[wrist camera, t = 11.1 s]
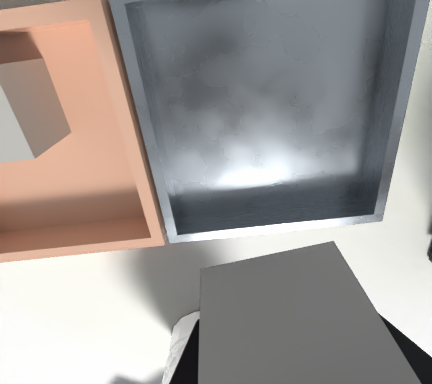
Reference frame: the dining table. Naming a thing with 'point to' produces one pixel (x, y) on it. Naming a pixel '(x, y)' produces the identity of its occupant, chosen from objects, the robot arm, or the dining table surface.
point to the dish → (78, 142)
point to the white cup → (179, 343)
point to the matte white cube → (29, 111)
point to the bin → (269, 108)
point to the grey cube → (293, 323)
